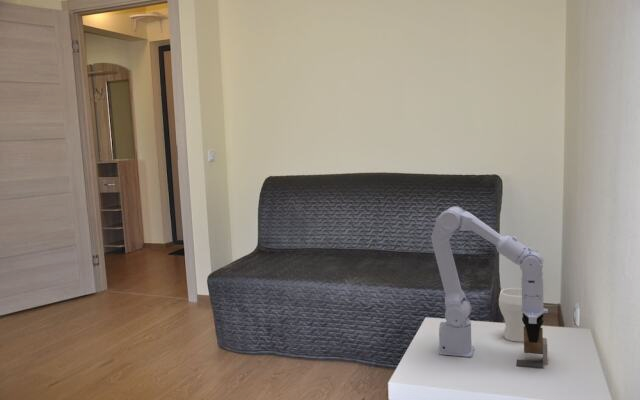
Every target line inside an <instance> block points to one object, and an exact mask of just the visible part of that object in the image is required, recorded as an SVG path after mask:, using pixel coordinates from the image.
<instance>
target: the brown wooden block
mask: <svg viewBox="0 0 640 400" xmlns="http://www.w3.org/2000/svg"><path fill="white" fill-rule="evenodd" d="M543 329H544V328H543V327H541V328H540V331H539V336H538V341H537V343H533V342H529V339H528V335H527V330H526V327H525V326H524V341H523V353H524V354H535V355H543V338H544V336H543V332H544V331H543Z"/></svg>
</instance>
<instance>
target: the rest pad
mask: <svg viewBox="0 0 640 400" xmlns="http://www.w3.org/2000/svg"><path fill="white" fill-rule="evenodd" d="M515 365H516V367H524V368H532V369H544V365H543V360H542V361H540V360H527V359H519V358H517V359H516V364H515Z"/></svg>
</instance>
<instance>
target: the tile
mask: <svg viewBox="0 0 640 400" xmlns="http://www.w3.org/2000/svg"><path fill="white" fill-rule="evenodd" d="M548 356H549V355H548V338H547V337H543V354H542V362H543V366H544V365H545V366H547V365H548V364H549V363H548Z"/></svg>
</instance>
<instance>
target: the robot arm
mask: <svg viewBox="0 0 640 400" xmlns="http://www.w3.org/2000/svg"><path fill="white" fill-rule="evenodd" d="M458 228H459V231H461V232H462V231H463V232H464V231H466V232H467V231H470V232H473V233H475V234H477V235H478V236H480V237H481V238H482V239H485V240H486V241H488V242H490V243H492V245H494V246H495V248H496V251H497V253H499V254H500V255H502V256H503V257H505V258H506V259H508V260H509V261H510V262H512V263H514V264H515V265H518V266H519V267H520V270H521V271H522V272H521V275H522V276H521V289H522V308H521V311H522V312H523V317H522V321H523V323H524V325H525V327H526V330H527V335H528V339H529V342H533V343H537V341H538V336H539V331H540V328H542V325H543V324H544V319H543V318H544V314H548V313H549V309H548V308H544V278H543V274H544V273H543V267H544V266H543V265H544V258H543V255H542V254H541V253H540V252H539V251H538V250H535V249H532V247H531V246H526V245H524V244H523V243H522V242H520V241H518V237H516V236H515V235H513V236H511V235H508V234H507V235H501V234H500V233H499V232H497V231H496V230H495V229H493V228H492V227H490V226H489V225H488V224H486V223H485V222H484V221H482V220H480V219H479V218H478V217H476V216H475V215H474V214H472V213H471V212H469V211H468V210H464V209H463V208H462V207H460V206H458V205H457V206H456V205H454V206H451V207H449V208H447V209H446V210H443V211H442V212H441V213H440V214H439V216H438V217H437V218H436V219H435V224H434V228H433V231H432V234H431V235H430V240H431V243H432V248H433V252H434V256H435V260H436V263H437V266H438V270H439V271H438V272H439V275H440V279H441V282H442V286H443V291H444V295H445V296H444V305H445V312H444V318H445V321H441V322H439V326H438V327H439V328H438V337H439V339H438V340H439V342H438V343H439V355H442V356H454V357H466V358H472V357H473V354H474V349H475V346H474V345H472V344H473V343H472V321H471V319H470V317H469V316H470V315H471V313H472V308H473V307H472V305H471V303H470V301H469V300H468V299H467V296H466V293H465V291H464V290H463V289H462V285H461V281H460V278H459V274H458V270H457V267H456V266H457V265H456V262H455V258H454V254H453V251H452V246H451V244H450V243H451V242H450V238H451V237H452V236H453V234H454V233H455V231H456V230H457V229H458Z"/></svg>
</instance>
